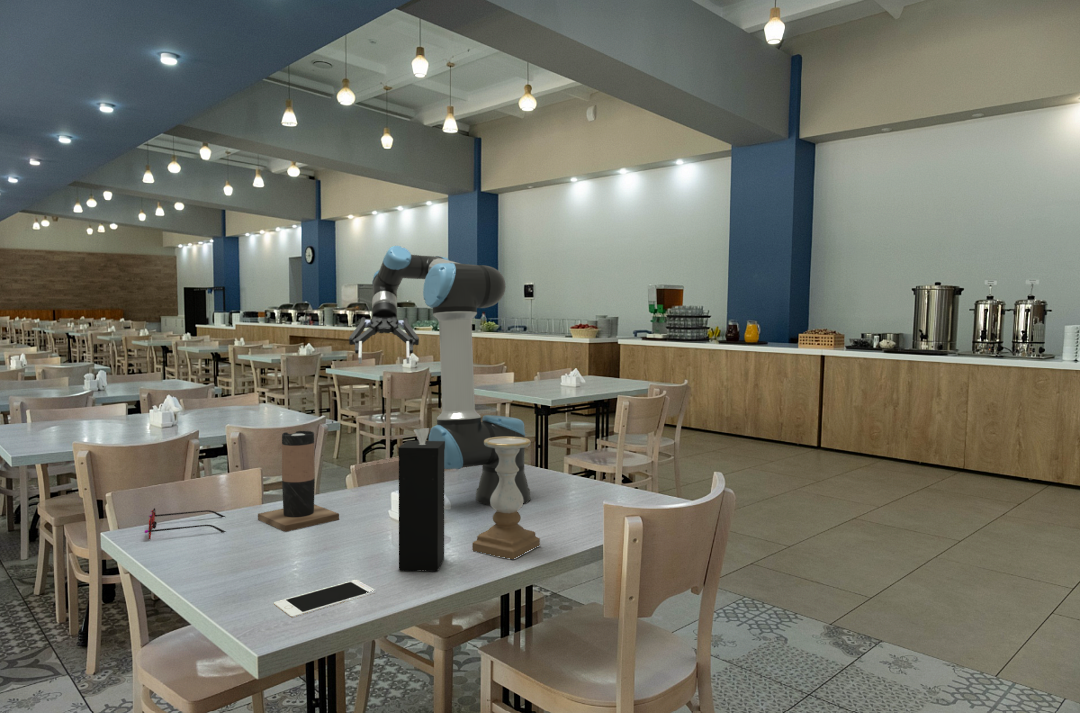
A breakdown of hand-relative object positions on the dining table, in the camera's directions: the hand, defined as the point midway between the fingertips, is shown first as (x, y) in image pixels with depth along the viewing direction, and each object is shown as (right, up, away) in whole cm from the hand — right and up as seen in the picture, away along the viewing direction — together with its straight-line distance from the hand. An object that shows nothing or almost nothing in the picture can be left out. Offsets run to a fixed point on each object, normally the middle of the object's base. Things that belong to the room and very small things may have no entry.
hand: (384, 360), depth 199 cm
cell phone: (+7, -42, -77) cm, 88 cm away
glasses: (-38, -40, -37) cm, 67 cm away
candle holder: (+38, -41, -49) cm, 75 cm away
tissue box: (+21, -41, -60) cm, 76 cm away
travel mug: (-14, -38, -29) cm, 50 cm away
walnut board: (-14, -39, -29) cm, 51 cm away
